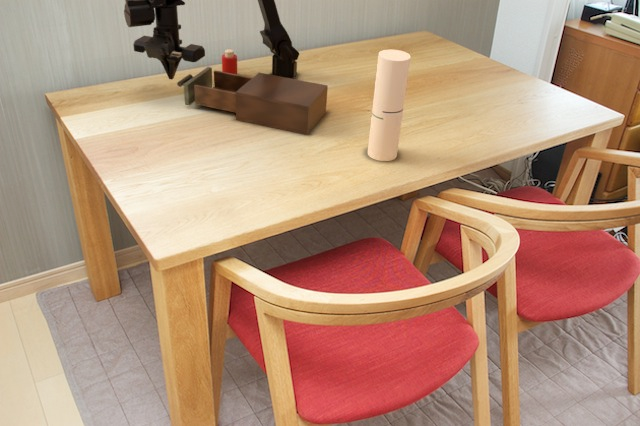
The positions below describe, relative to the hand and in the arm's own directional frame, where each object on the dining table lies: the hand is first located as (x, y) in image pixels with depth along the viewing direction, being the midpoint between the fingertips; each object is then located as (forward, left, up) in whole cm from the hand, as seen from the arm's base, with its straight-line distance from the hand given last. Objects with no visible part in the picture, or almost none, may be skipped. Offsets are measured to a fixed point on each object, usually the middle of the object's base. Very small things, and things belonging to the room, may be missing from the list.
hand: (171, 78), depth 180 cm
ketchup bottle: (+9, +18, -4) cm, 20 cm away
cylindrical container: (+63, -9, -5) cm, 64 cm away
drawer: (+15, 0, -3) cm, 15 cm away
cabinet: (+33, 0, -4) cm, 33 cm away
